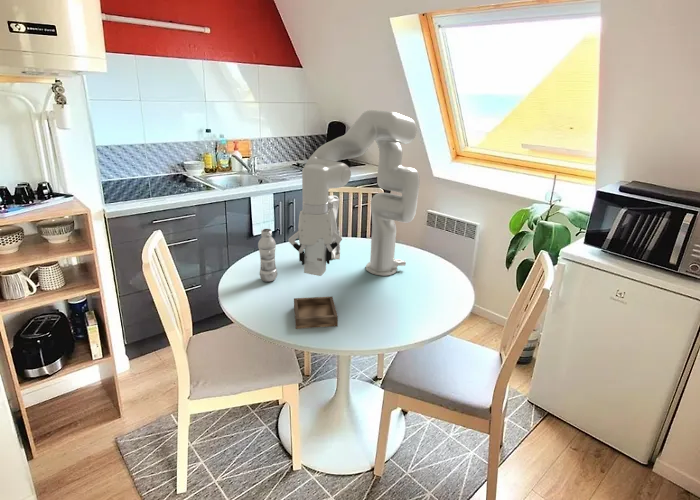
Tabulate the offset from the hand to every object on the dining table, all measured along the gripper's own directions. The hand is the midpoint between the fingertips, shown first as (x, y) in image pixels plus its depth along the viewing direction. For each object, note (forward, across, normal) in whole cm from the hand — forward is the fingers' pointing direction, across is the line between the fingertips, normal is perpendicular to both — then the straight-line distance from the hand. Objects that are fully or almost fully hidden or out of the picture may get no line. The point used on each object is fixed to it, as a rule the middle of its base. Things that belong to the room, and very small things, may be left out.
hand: (315, 262), depth 136 cm
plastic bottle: (+20, +15, -28) cm, 37 cm away
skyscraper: (+20, -11, -48) cm, 53 cm away
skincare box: (+4, 0, 0) cm, 4 cm away
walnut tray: (+19, 0, 0) cm, 19 cm away
